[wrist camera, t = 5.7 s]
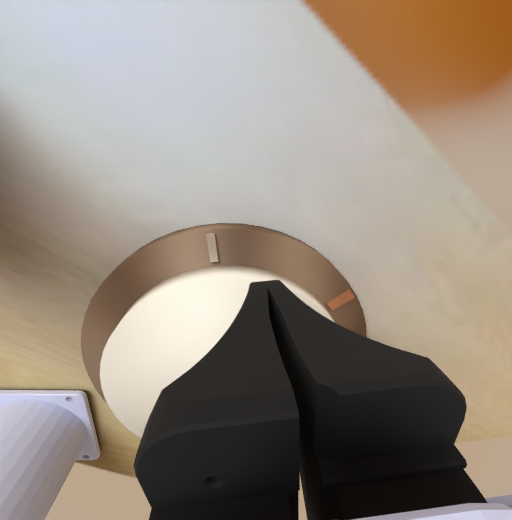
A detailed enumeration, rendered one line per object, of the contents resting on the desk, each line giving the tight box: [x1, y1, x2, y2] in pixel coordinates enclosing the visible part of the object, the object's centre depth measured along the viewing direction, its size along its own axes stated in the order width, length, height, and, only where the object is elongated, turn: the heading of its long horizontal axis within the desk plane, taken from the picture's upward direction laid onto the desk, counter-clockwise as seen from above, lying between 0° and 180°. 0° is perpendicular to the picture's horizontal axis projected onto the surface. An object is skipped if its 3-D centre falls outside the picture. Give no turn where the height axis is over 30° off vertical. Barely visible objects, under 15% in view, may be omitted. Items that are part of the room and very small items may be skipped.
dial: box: [100, 266, 334, 439], centre depth 14 cm, size 15×15×5 cm
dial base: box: [81, 223, 367, 404], centre depth 17 cm, size 19×19×1 cm
